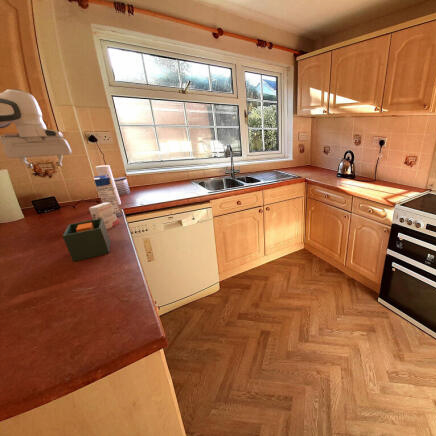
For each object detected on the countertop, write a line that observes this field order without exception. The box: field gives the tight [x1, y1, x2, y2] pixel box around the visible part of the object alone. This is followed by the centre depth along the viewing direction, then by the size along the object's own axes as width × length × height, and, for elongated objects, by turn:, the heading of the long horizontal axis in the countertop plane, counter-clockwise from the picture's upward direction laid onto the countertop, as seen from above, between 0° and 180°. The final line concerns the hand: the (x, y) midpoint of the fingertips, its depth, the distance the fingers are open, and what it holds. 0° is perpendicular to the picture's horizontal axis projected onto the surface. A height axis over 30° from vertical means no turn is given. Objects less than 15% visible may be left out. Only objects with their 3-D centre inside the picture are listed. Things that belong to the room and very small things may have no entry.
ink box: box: [88, 202, 120, 230], centre depth 122 cm, size 9×5×12 cm, turn 168°
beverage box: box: [93, 175, 123, 218], centre depth 137 cm, size 7×11×22 cm, turn 39°
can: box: [114, 176, 131, 197], centre depth 181 cm, size 11×11×12 cm
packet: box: [76, 222, 94, 232], centre depth 99 cm, size 4×6×10 cm
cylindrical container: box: [95, 164, 122, 206], centre depth 154 cm, size 7×7×25 cm
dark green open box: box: [62, 218, 112, 263], centre depth 99 cm, size 11×13×11 cm
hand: (45, 167), depth 105 cm, fingers open, 8 cm apart
